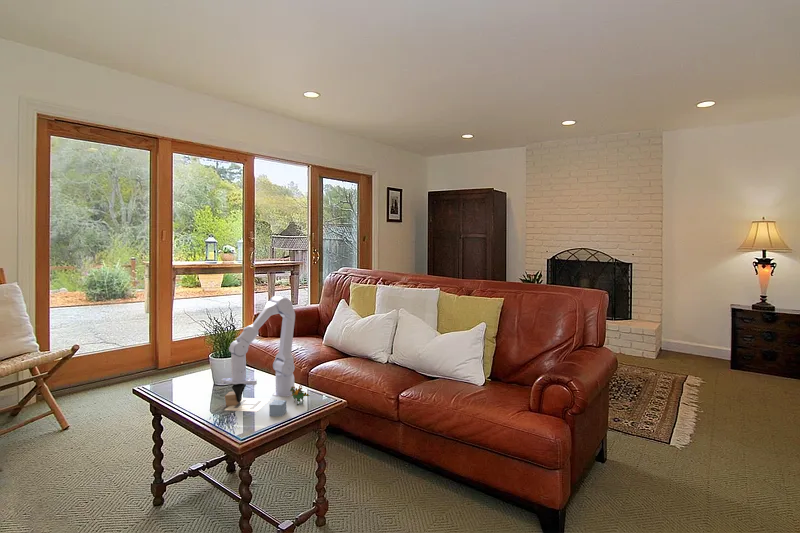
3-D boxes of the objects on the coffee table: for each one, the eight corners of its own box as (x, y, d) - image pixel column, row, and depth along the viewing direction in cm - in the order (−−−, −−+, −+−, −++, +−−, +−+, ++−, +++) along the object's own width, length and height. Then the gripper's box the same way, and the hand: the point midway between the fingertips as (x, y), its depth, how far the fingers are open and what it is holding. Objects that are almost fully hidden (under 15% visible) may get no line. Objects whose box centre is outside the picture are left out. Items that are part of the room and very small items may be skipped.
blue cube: (274, 412, 179) (274, 399, 179) (286, 412, 179) (286, 400, 178) (269, 417, 174) (269, 404, 174) (281, 417, 174) (281, 405, 173)
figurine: (293, 399, 193) (292, 381, 192) (312, 405, 186) (312, 386, 185) (287, 401, 190) (287, 383, 190) (307, 408, 183) (307, 388, 183)
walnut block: (231, 402, 189) (229, 391, 189) (241, 401, 189) (239, 390, 188) (226, 406, 184) (224, 395, 184) (236, 405, 184) (234, 394, 184)
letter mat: (239, 398, 194) (239, 397, 194) (270, 399, 192) (270, 398, 192) (224, 411, 180) (224, 410, 180) (257, 412, 178) (257, 411, 178)
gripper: (217, 371, 182) (217, 403, 183) (251, 372, 181) (251, 405, 182) (225, 366, 189) (226, 397, 190) (258, 367, 188) (258, 399, 189)
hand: (239, 401), depth 186 cm, fingers closed, pressing on walnut block
